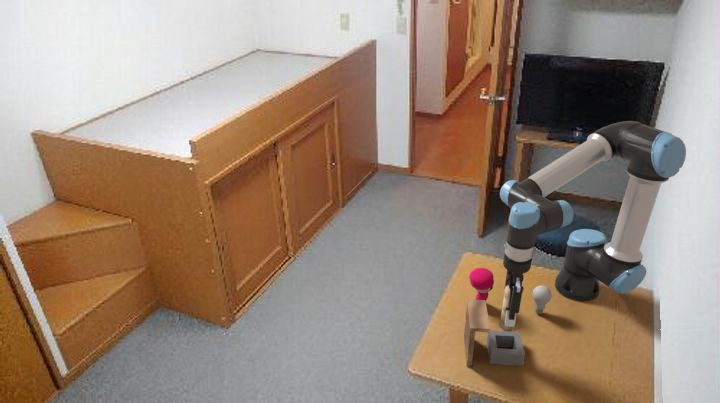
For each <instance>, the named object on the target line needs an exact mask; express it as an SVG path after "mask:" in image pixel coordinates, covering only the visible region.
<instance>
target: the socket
mask: <svg viewBox="0 0 720 403" xmlns="http://www.w3.org/2000/svg"><path fill="white" fill-rule="evenodd" d="M486 345H487V351H488V359H489V364H490V365H502V366H503V365H504V366H521V367H522V366H524V360H525V355H526V354H525V350H524V346H523V341H522V337H521V332H519V331H510V332H507V331H504V330H502V331H501V330H490V331H489V332H487V336H486ZM498 347H507V348H498ZM508 347H510V348H508Z"/></svg>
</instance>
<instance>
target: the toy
mask: <svg viewBox="0 0 720 403" xmlns="http://www.w3.org/2000/svg"><path fill="white" fill-rule="evenodd" d="M469 284H470V285H471V287H472V288H474V289H475V290H476V296H475V299H474V300H485V301H486V302H487V300H488V298H489V292H490V291H492V290H493V287H494V284H495V280H494V273H493V271H491V270H490V269H488V268H486V267H477V268H476V267H475V269H473V270H471V272H470V273H469Z"/></svg>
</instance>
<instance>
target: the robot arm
mask: <svg viewBox="0 0 720 403" xmlns="http://www.w3.org/2000/svg"><path fill="white" fill-rule="evenodd" d="M686 157H687V148H686V143H684V141H683V140H682V138H680V137H678V136H676V135H674V134H672V133H671V132H668V131H664V130H660V129H658V128H655V127H652V126H651V125H647V124H644V123H641V122H638V121H635V120H634V121H633V120H627V121H620V122H616V123H615V122H614V123H611V124H609V125H607V126H603V127H601V128H600V129H599V128H598V129H597V130H596V131H594V132H592V133H591V134H589V135H588V136H587V138H586V141H584V142H583V143H581V144H579V145H577V146H576V147H574V148H573V149H571V150H569V151H568V152H567V153H564V154H563V155H561V156H560V157H559V158H557V159H555V160H554V161H552V162H551V163H549V164H547V165H546V166H544V167H543V168H541V169H539V170H537V172H535V173H533V174H531V175H530V176H529V177H527V178H525V179H524V180H522V181H518V180H514V179H510V180H508V181H506V182H505V183H504V184H503V185H502V186H501V188H500V192H499V198H500V200H501V201H502V202H503V203H504V204H505V205H507V206H508V208H511V209H510V213H509V217H508V224H507V225H508V226H507V234H506V243H504V244H503V248H505V249H504V254H503V261H502V262H503V263H502V264H503V267H504V268H505V270H506V276H505V284H504V290H505V287H506V286H508V285H509V289H510V296H509V306H508V307H506V310H507V313H506V319H505V326H510V327H514V326H515V327H516V323H515V320H516V321H517V317H516V314H517V315H518V314H519V313H520V309H521V304H522V303H521V302H522V296H523V292H524V286H522V285H523V282H524V277H525V276H524V274H526V273H527V272H529V271H530V270H531V268H532V260H533V257H534V251H535V246H536V245H535V244H536V238H537V236H540V235H543V234H545V233H549V232H553V231H556V230H560V229H562V228H564V227H566V226H568V225H570V224H571V223H572V222H573V219H574V209H573V208H572V206H571V204H570V203H569V202H567V201H566V200H563V199H560V200H554V201H551V200H550V199H548V198H546V197H547V196H548V195H551V193H553V192H554V191H556V190H557V189H559V188H561V187H562V186H563V187H564V185H565V184H568V183H569V182H571V181H572V180H573V179H575V178H577V177H578V176H580V175H581V174H583V173H585V172H586V171H587V170H589V169H590V168H593V167H594V166H596V165H597V164H599V163H600V162H608V161H609V160H611V159H613V158H620V159H623V160H625V161H627V167H626V173H627V174H628V176H629V179H628V181H627V182H628V183H627V186H626V189H625V193H624V196H623V200H622V204H621V206H620V210H619V213H618V216H617V220H616V223H615V227H614V229H613V232H612V237H611V240H610V242H607V237H606V234H604V233H603V232H601V231H599V230H596V229H591V228H582V229H581V228H580V229H576V230H573V231H572V232H571V233H570V234H569V236H568V240H567V241H566V249H565V256H564V262H563V266H562V268H561V269H560V271H559V272H558V274H557V275H556V277H555V281H554V287H555V289H556V291H557V292H558V293H559V294H561V295H562V296H564V297H565V298H567V299H569V300H570V299H571V300H573V301H578V302H589V301H592V300H595V299H597V297H599V295H600V290H601V285H600V283H602V284H604V285H605V286H607V287H608V289H610V290H612V291H614V292H616V293H618V294H621V295H625V294H628V293H631V292H632V291H634V290H635V289H636V288H638V286H640V284H641V283H642V282H643V281H644V279H645V277H646V275H647V268H646V266H645V265H643V264H642V261H643V258H644V256H643V253H642V251H641V250H640V249H641V246H642V242H643V240H644V238H645V234H646V230H647V227H648V225H649V222H650V219H651V216H652V213H653V209H654V206H655V204H656V201H657V200H656V199H657V197H658V196H659V191H660V188H661V185H662V184H663V183H666V182H667V181H669V179H670V178H672V177H674V176H676V175H677V174H678V173H679V172H680V169H681V168H682V167H683V166H684V163H685V161H686ZM606 242H607V243H606Z"/></svg>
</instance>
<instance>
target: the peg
mask: <svg viewBox="0 0 720 403" xmlns="http://www.w3.org/2000/svg"><path fill="white" fill-rule="evenodd" d="M504 287H505V286H504ZM503 293H504V295H503V301H502V308H501V314H500V322H499V327H500V329H501V330H502V331H507V332H514V330H515V329H516V325H515V326H514V327H510V326H505V319H506V313H507V310H506V307H508V306H509V296H510V289H509V285H508V286H506V287H505V289H504V292H503ZM517 316H518V313H517V314H516V318H517ZM516 321H517V319H516V320H515V324H516Z"/></svg>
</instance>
